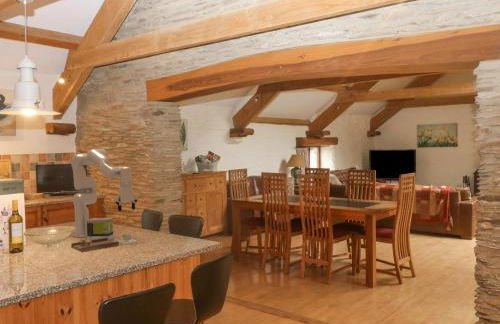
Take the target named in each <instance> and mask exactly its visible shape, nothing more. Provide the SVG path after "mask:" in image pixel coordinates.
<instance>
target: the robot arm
mask: <svg viewBox="0 0 500 324" xmlns="http://www.w3.org/2000/svg"><path fill="white" fill-rule="evenodd" d="M70 163H71V164H70V165H71V168H72V174H73V175H72V177H73V187H74V189H75V190H76V191H80V192H77V193H75V194H74V195H73V196H72V203H73V207H74V223H75V224H74V227H75V228H74V230H75V233H73V234H72V236H73V237H74V238H86V237H87V220H89V219H90V210H89V207H87V205H93V204H95V203H96V202H97V200H98V193H97V189H98V188H97V182H96V179H95V178H94V177H93V176H87V172H86V169H85V167H84V166H92V165H93V166H94V165H97V166H98V169H99V172H100V173H101V174H102V175H103V176H105V177H107V178H108V179H115V178H116V179H117V178H119V187H118V190H117V191H118V192H117V197H115V198H114V199H113V201H114V202H115V203H114V204H116V205H117V210H118V212H123V211H122V204H123V203H131V210H133V211H134V210H136V203H137V201H138V200H139V196H137V195H135V192H134V188H133V185H134V182H133V181H132V168H131V166H121V165H119V166H109V163H110V158H109V157H108V151H107V150H106V149H104V148H91V149H89V150H88V151H87V153H86V152H85V153H76V154H74V155H73V156H72V157H71V162H70Z"/></svg>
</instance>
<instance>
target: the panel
mask: <svg viewBox="0 0 500 324" xmlns="http://www.w3.org/2000/svg"><path fill="white" fill-rule="evenodd" d="M113 242H119V245H122V246H125V245H131V244H137V243H138V241H137V240H136V239H133V238H132V234H131V233H123V234H122V238H115V239H113Z"/></svg>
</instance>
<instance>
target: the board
mask: <svg viewBox="0 0 500 324" xmlns="http://www.w3.org/2000/svg"><path fill="white" fill-rule="evenodd" d="M79 240H80V241H77V242H72V243H71V247H70V248H72V249H74V250H77V251H79V252H81V253H84V252H90V251H96V250H101V249H102V248H103V249H108V247H109V248H114V246H115V247H119V245H120V244H119V242H114V241H112V240H110V241H109V240H108V238H102V239H96V240H87V238H86V237H82V238H79Z"/></svg>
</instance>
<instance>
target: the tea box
mask: <svg viewBox="0 0 500 324" xmlns="http://www.w3.org/2000/svg"><path fill="white" fill-rule="evenodd" d="M113 220H114V219H113V217H101V218H100V217H99V218H98V217H95V218H94V217H93V218H89V220H87V238H86V239H87V240H96V239H102V238H108V240H110V241H112V240H114V223H113V222H114V221H113ZM87 240H86V241H87Z"/></svg>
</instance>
